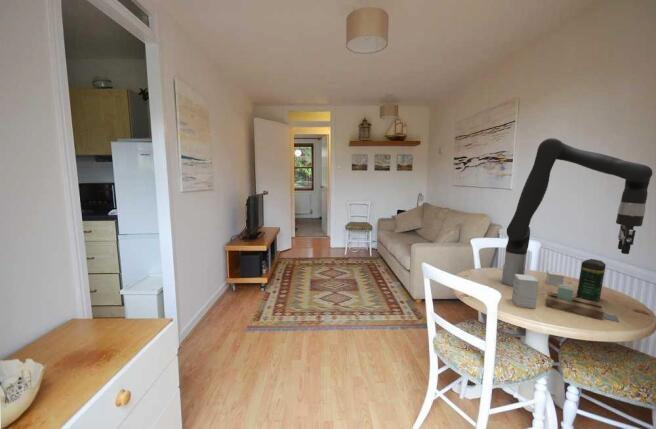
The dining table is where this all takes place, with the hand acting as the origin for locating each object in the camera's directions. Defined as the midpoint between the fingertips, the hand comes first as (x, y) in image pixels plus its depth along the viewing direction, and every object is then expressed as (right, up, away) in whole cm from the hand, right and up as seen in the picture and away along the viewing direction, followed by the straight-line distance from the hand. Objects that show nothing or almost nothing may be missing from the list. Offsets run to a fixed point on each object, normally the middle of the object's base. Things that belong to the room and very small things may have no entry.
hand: (622, 251), depth 119 cm
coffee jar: (-2, -24, +14) cm, 28 cm away
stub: (-21, -25, +5) cm, 33 cm away
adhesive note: (-4, -22, +31) cm, 38 cm away
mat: (-9, -27, -4) cm, 28 cm away
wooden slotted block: (-18, -25, +3) cm, 31 cm away
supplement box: (-37, -25, +7) cm, 45 cm away
